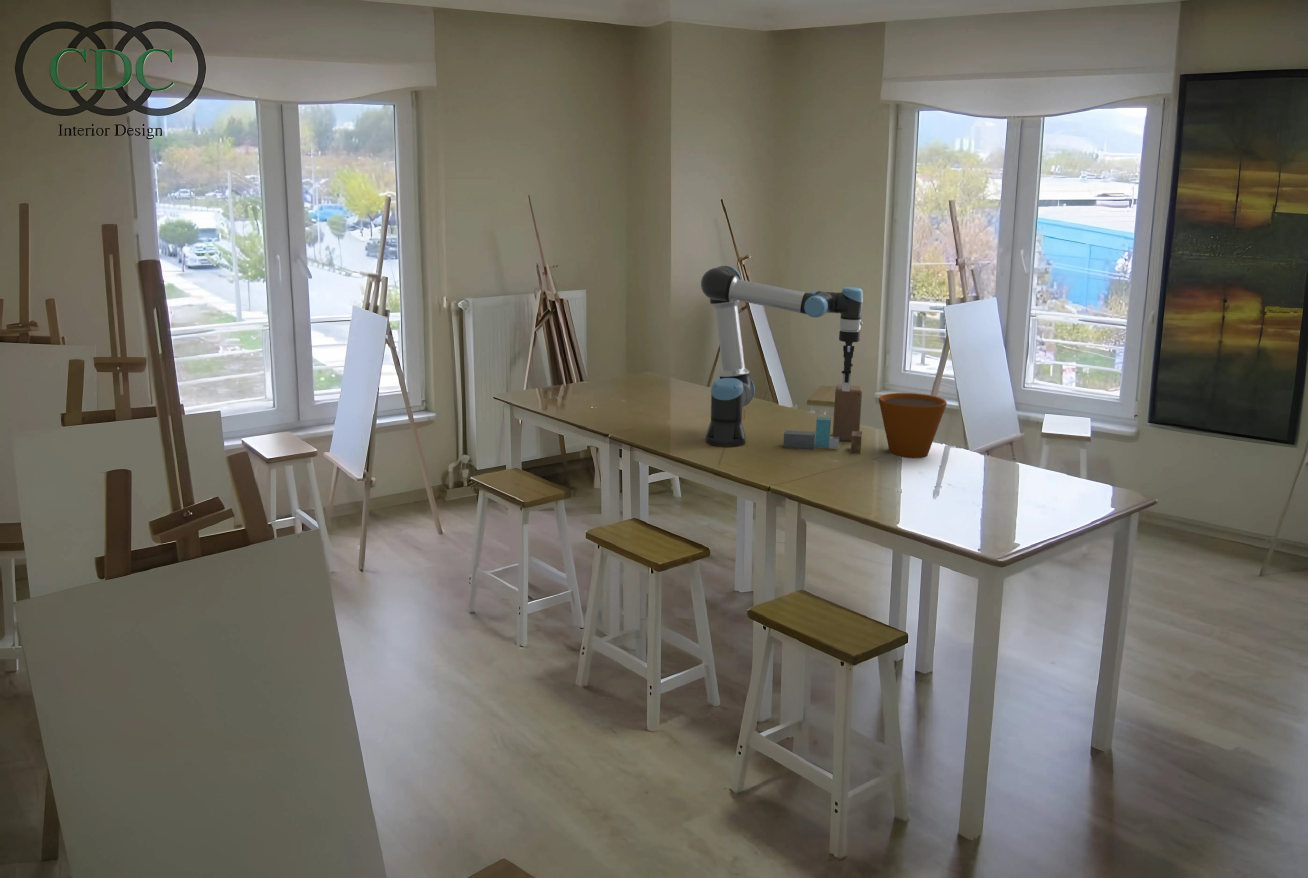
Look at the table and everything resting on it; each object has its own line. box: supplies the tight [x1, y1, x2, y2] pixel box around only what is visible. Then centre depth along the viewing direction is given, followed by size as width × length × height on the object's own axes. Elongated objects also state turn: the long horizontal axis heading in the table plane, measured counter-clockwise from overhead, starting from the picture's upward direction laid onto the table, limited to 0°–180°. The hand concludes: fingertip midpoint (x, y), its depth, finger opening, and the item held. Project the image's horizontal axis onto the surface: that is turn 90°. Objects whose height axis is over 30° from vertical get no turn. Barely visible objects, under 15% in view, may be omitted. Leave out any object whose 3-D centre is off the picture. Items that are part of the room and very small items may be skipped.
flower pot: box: [878, 392, 947, 459], centre depth 380 cm, size 24×24×20 cm
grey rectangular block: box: [782, 429, 816, 451], centre depth 387 cm, size 11×6×6 cm, turn 78°
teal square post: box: [814, 416, 840, 449], centre depth 386 cm, size 19×4×10 cm, turn 78°
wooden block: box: [832, 384, 863, 442], centre depth 400 cm, size 10×10×20 cm
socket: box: [850, 430, 863, 455], centre depth 383 cm, size 4×8×6 cm, turn 168°
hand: (845, 387), depth 387 cm, fingers open, 13 cm apart
